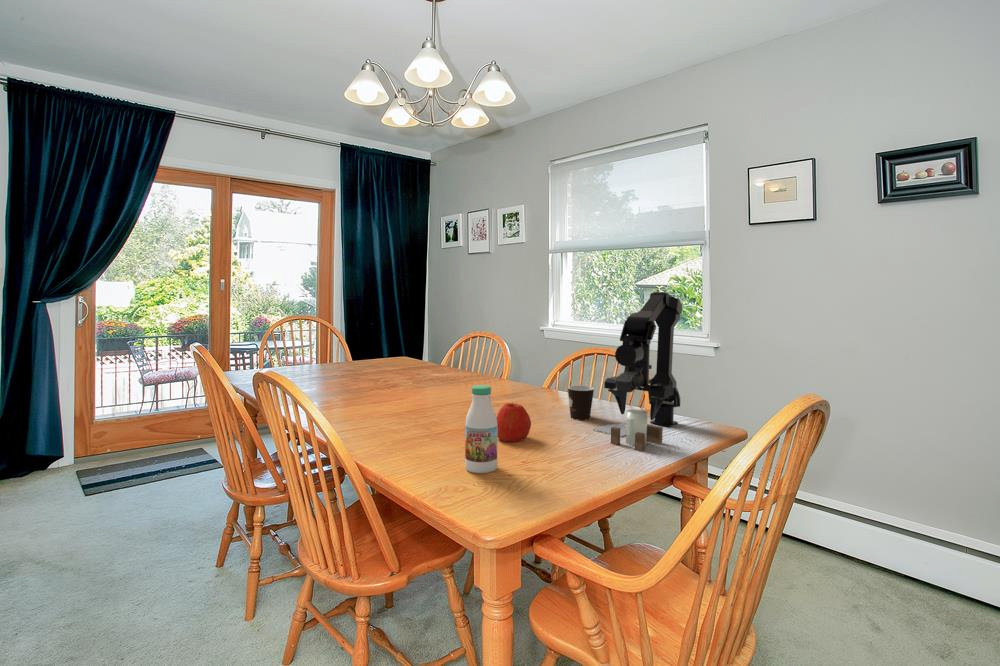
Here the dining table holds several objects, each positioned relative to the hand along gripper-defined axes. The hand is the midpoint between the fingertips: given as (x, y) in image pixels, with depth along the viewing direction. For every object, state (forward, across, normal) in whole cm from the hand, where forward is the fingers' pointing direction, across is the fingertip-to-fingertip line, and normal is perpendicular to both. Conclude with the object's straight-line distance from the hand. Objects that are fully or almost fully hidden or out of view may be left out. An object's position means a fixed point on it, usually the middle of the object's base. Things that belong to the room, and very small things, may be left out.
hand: (637, 417), depth 146 cm
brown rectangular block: (+7, 0, 0) cm, 7 cm away
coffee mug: (+8, -29, +13) cm, 33 cm away
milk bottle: (+8, -15, -45) cm, 48 cm away
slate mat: (+8, -11, +7) cm, 15 cm away
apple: (+8, -27, -22) cm, 36 cm away
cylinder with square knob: (+8, 0, 0) cm, 8 cm away
